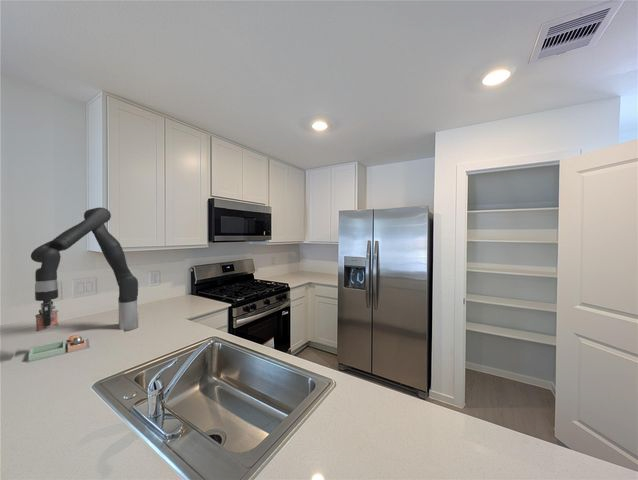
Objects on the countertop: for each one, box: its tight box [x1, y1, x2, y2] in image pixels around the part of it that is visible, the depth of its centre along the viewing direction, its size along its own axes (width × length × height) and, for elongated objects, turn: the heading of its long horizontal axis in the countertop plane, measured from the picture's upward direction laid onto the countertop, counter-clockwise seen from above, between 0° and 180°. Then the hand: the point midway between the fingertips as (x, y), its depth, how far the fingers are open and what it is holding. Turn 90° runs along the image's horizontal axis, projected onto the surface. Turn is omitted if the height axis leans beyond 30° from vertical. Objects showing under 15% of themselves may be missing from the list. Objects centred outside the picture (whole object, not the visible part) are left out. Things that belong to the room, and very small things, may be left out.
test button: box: [68, 334, 80, 342], centre depth 130 cm, size 4×4×4 cm
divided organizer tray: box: [25, 338, 90, 364], centre depth 124 cm, size 21×14×4 cm, turn 135°
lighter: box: [34, 305, 59, 332], centre depth 120 cm, size 8×3×10 cm, turn 168°
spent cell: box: [73, 335, 83, 345], centre depth 126 cm, size 3×3×6 cm
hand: (47, 324), depth 120 cm, fingers closed on lighter, 4 cm apart
